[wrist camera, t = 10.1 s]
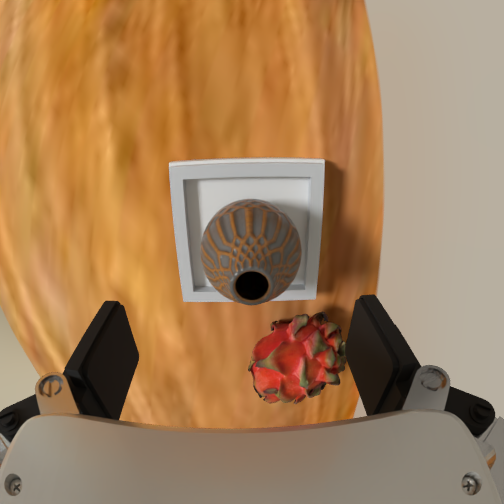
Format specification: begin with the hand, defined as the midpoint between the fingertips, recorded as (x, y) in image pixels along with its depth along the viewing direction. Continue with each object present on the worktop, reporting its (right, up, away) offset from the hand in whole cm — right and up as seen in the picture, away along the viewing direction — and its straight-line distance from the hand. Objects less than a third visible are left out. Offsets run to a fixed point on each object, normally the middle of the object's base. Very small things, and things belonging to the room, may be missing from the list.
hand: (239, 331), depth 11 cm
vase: (0, +5, +13) cm, 14 cm away
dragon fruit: (+5, -6, +19) cm, 20 cm away
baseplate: (0, +5, +14) cm, 15 cm away
